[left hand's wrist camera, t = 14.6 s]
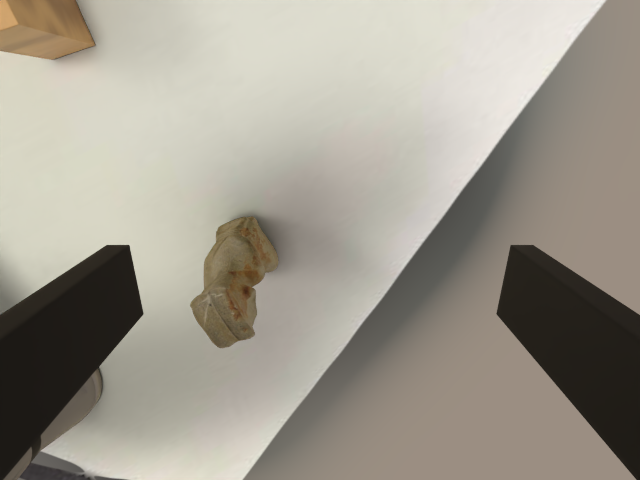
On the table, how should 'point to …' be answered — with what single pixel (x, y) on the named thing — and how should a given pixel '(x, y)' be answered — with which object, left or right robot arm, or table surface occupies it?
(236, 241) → the sculpture
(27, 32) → the bar
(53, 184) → the table surface
